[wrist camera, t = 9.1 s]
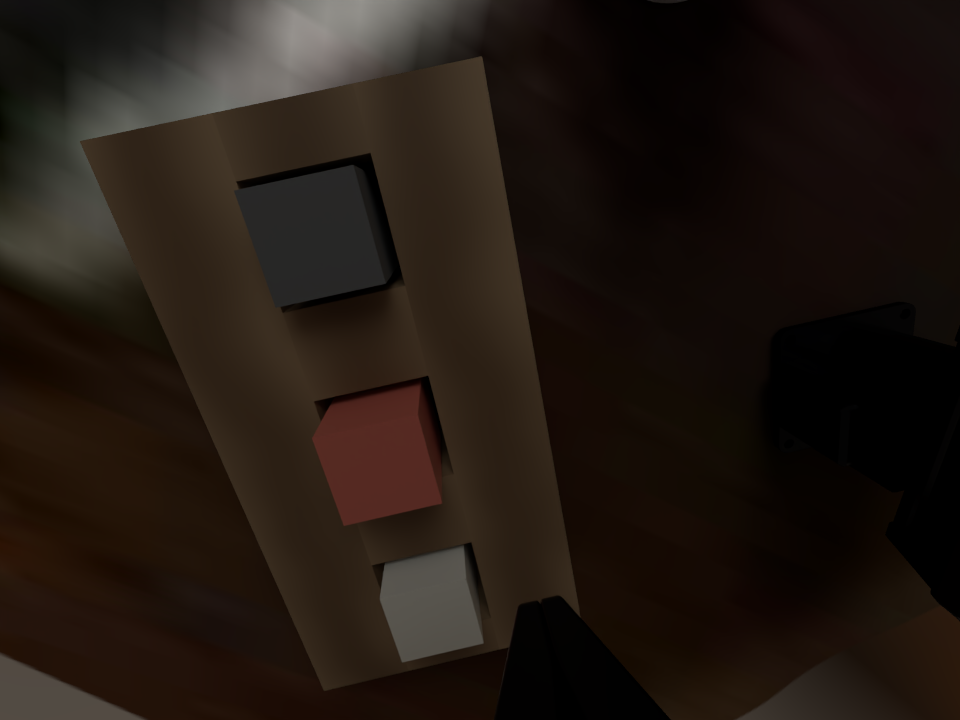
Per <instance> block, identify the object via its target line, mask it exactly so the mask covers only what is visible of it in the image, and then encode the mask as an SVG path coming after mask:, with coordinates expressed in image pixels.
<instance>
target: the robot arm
mask: <svg viewBox="0 0 960 720" xmlns="http://www.w3.org/2000/svg"><path fill="white" fill-rule="evenodd" d="M901 312H902V314H901V315H900V313H901ZM915 313H916V311H915V307H914V305H912V304H910V303H905V302H896V303H891V304H887V305H883V306H878V307H874V308H869V309H865V310H860V311H856V312H851V313H847V314H843V315H838V316H834V317H829V318H825V319H820V320H816V321H812V322H807V323H803V324H798V325H794V326H789V327H785V328H782V329H780V330H779V331H778V332H777V333H776V335H775V338H774V378H773V422H774V445H775V447H776V448H778V449H779V450H781V451H782V452H785V453H788V452H793V451H797V450H802V449H806V448H810V447H812V448H814V449H815V450H817V451H818V452H820V453H822V454H823V455H825V456H826V457H828V458H829V459H831V460H833V461H834V462H836V463H837V464H839V465H840V466H843V467H844V466H848V465H849V466H851V467H852V468H854V469H856V470H857V471H859V472H860V473H862V474H864V475H865V476H867V477H868V478H870V479H872V480H873V481H875V482H876V483H878V484H880V485H881V486H883V487H885V488H886V489H888V490H889V491H891V492H898V491H903V490H904V493H903V496H902V499H901V501H900V504H899V507H898V510H897V513H896V515H895V518H894V521H893V522H890V523H889V525H888V528H887V531H886V534H885V535H886V536H887V538H888V539H889V540H890V541H891V542H892V543H893V545H894V546H895V547H896V548H897V549H898V551H899V552H900V553H901V554H902V555H903V556H904V558H905V559H906V560H907V561H908V562H909V563H910V565H911V566H912V567H913V568H914V569H915V570H916V572H917V573H918V574H919V575H920V576H921V577H922V579H923V580H924V581H925V582H926V583H927V585H928V586H929V587H930V588H931V595H932V596H933V597H934V598H935V600H936V601H937V602H938V603H939V604H940V605H941V606H942V607H944V608H945V609H946V610H947V611H949V612H950V613H951V614H952V615H953V616H955V617H956V618H957V619H958V620H959V621H960V326H959V329H958V332H957V335H956V338H955V341H957V342H958V343H957V346H956V347H954V346H950V345H946V344H943V343H939V342H935V341H931V340H927V339H924V338H920V337H916V336H913V332H914V322H915ZM788 336H790V337H789V340H788V341H787V342H785V340H786V338H787V337H788ZM786 440H788V441H787V442H786ZM785 442H786V443H785ZM784 443H785V444H784ZM494 720H671V719H670V718H669V717H668V716H667V715H666V714H665V713H664V712H663V710H662V709H661V708H660V707H659V706H658V705H657V704H656V703H655V701H654V700H653V699H652V698H651V697H650V696H649V695H648V693H647V692H646V691H645V690H644V689H643V688H642V687H641V686H640V684H639V683H638V682H637V681H636V680H635V679H634V678H633V676H632V675H631V674H630V673H629V672H628V671H627V670H626V669H625V667H624V666H623V665H622V664H621V663H620V662H619V661H618V660H617V658H616V657H615V656H614V655H613V654H612V653H611V652H610V650H609V649H608V648H607V647H606V646H605V645H604V644H603V643H602V641H601V640H600V639H599V638H598V637H597V636H596V635H595V634H594V632H593V631H592V630H591V629H590V628H589V627H588V626H587V624H586V623H585V622H584V621H583V620H582V619H581V618H580V617H579V615H578V614H577V613H576V612H575V611H574V610H573V609H572V607H571V606H570V605H569V604H568V603H567V602H566V601H565V600H564V598H562V597H561V596H559V595H556V596H552V597H547V598H543V599H542V600H541V601H540V603H539V602H538V601H537V600H535V601H530V602H526V603H522V604H520V605H519V606H518V608H517V611H516V616H515V621H514V626H513V630H512V635H511V640H510V645H509V649H508V654H507V659H506V664H505V669H504V673H503V678H502V683H501V688H500V692H499V697H498V702H497V707H496V712H495V716H494Z"/></svg>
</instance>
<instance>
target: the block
mask: <svg viewBox="0 0 960 720" xmlns="http://www.w3.org/2000/svg"><path fill="white" fill-rule="evenodd" d="M80 143H81V145H82V147H83V150H84V152H85V154H86V156H87V159H88V161H89V163H90V165H91V168H92V170H93V172H94V174H95V177H96V179H97V181H98V183H99V186H100V188H101V190H102V192H103V195H104V197H105V199H106V201H107V204H108V206H109V208H110V210H111V213H112V215H113V217H114V219H115V222H116V224H117V226H118V228H119V231H120V233H121V235H122V237H123V240H124V242H125V244H126V246H127V249H128V251H129V253H130V255H131V258H132V260H133V262H134V264H135V267H136V269H137V271H138V273H139V276H140V278H141V280H142V282H143V285H144V287H145V289H146V291H147V294H148V296H149V298H150V300H151V302H152V305H153V307H154V309H155V311H156V314H157V316H158V318H159V320H160V323H161V325H162V327H163V329H164V332H165V334H166V336H167V338H168V341H169V343H170V345H171V347H172V350H173V352H174V354H175V356H176V359H177V361H178V363H179V365H180V368H181V370H182V372H183V374H184V377H185V379H186V381H187V383H188V386H189V388H190V390H191V392H192V395H193V397H194V399H195V401H196V404H197V406H198V408H199V410H200V413H201V415H202V417H203V419H204V422H205V424H206V426H207V428H208V431H209V433H210V435H211V437H212V440H213V442H214V444H215V446H216V449H217V451H218V453H219V455H220V458H221V460H222V462H223V464H224V467H225V469H226V471H227V473H228V476H229V478H230V480H231V482H232V485H233V487H234V489H235V491H236V494H237V496H238V498H239V500H240V503H241V505H242V507H243V509H244V512H245V514H246V516H247V518H248V521H249V523H250V525H251V527H252V530H253V532H254V534H255V536H256V539H257V541H258V543H259V545H260V548H261V550H262V552H263V554H264V557H265V559H266V561H267V563H268V566H269V568H270V570H271V572H272V575H273V577H274V579H275V581H276V584H277V586H278V588H279V590H280V593H281V595H282V597H283V599H284V602H285V604H286V606H287V608H288V611H289V613H290V615H291V617H292V620H293V622H294V624H295V626H296V629H297V631H298V633H299V635H300V638H301V640H302V642H303V644H304V647H305V649H306V651H307V653H308V656H309V658H310V660H311V662H312V665H313V667H314V669H315V671H316V673H317V676H318V678H319V680H320V682H321V685H322V687H323V689H324V691H326V690H330V689H334V688H338V687H343V686H347V685H351V684H355V683H359V682H364V681H368V680H372V679H376V678H381V677H385V676H389V675H393V674H398V673H402V672H406V671H410V670H414V669H419V668H423V667H427V666H431V665H436V664H440V663H444V662H448V661H452V660H457V659H461V658H465V657H469V656H474V655H478V654H482V653H486V652H491V651H495V650H499V649H503V648H507V647H509V645H510V640H511V635H512V630H513V626H514V621H515V616H516V611H517V608H518V606H519V605H520V604H522V603H526V602H530V601H535V600H537V601H538V602H539V603H540V601H541V600H542V599H543V598H547V597H552V596H556V595H559V596H561V597H562V598H564V600H565V601H566V602H567V603H568V604H569V605H570V606H571V607H572V609H573V610H574V611H575V612H576V613H577V614H578V615H579V617H580V612H579V606H578V600H577V595H576V589H575V583H574V577H573V572H572V566H571V560H570V555H569V549H568V543H567V538H566V532H565V526H564V521H563V515H562V509H561V503H560V498H559V492H558V486H557V481H556V475H555V469H554V464H553V458H552V452H551V447H550V441H549V435H548V429H547V424H546V418H545V412H544V407H543V401H542V395H541V390H540V384H539V378H538V373H537V367H536V361H535V355H534V350H533V344H532V338H531V333H530V327H529V321H528V316H527V310H526V304H525V299H524V293H523V287H522V281H521V276H520V270H519V264H518V259H517V253H516V247H515V242H514V236H513V230H512V225H511V219H510V213H509V207H508V202H507V196H506V190H505V185H504V179H503V173H502V168H501V162H500V156H499V151H498V145H497V139H496V134H495V128H494V122H493V116H492V111H491V105H490V99H489V94H488V88H487V82H486V77H485V71H484V65H483V60H482V56H481V57H477V58H472V59H467V60H462V61H458V62H453V63H448V64H444V65H439V66H434V67H429V68H425V69H420V70H415V71H410V72H406V73H401V74H396V75H391V76H387V77H382V78H377V79H373V80H368V81H363V82H358V83H354V84H349V85H344V86H339V87H335V88H330V89H325V90H320V91H316V92H311V93H306V94H301V95H297V96H292V97H287V98H283V99H278V100H273V101H268V102H264V103H259V104H254V105H249V106H245V107H240V108H235V109H230V110H226V111H221V112H216V113H211V114H207V115H202V116H197V117H193V118H188V119H183V120H178V121H174V122H169V123H164V124H159V125H155V126H150V127H145V128H140V129H136V130H131V131H126V132H121V133H117V134H112V135H107V136H103V137H98V138H93V139H88V140H84V141H80ZM350 165H355V166H356V167H358V168H360V169H366V168H371V167H374V168H375V172H376V175H377V179H378V183H379V187H380V191H381V195H382V199H383V202H384V206H385V210H386V214H387V218H388V222H389V226H390V229H391V233H392V237H393V241H394V245H395V249H396V253H397V256H398V260H399V264H400V268H401V272H402V273H400V274H396V275H391V277H390V278H389V280H388V281H387V283H386V284H382V285H377V286H373V287H368V288H364V289H359V290H355V291H350V292H346V293H341V294H336V295H332V296H327V297H323V298H318V299H314V300H309V301H305V302H300V303H295V304H291V305H286V306H282V307H277V308H275V305H274V302H273V299H272V296H271V294H270V291H269V288H268V285H267V282H266V280H265V277H264V274H263V271H262V268H261V266H260V263H259V260H258V257H257V254H256V251H255V249H254V246H253V243H252V240H251V237H250V235H249V232H248V229H247V226H246V223H245V221H244V218H243V215H242V212H241V209H240V207H239V204H238V201H237V198H236V195H235V193H234V190H239V189H243V188H248V187H253V186H257V185H262V184H267V183H271V182H276V181H281V180H285V179H290V178H295V177H299V176H304V175H309V174H313V173H318V172H323V171H327V170H332V169H336V168H341V167H346V166H350ZM425 376H429V380H430V384H431V388H432V392H433V395H434V399H435V403H436V407H437V411H438V415H439V419H440V422H441V426H442V430H441V431H440V433H441V464H442V504H437V505H433V506H429V507H424V508H420V509H416V510H411V511H407V512H402V513H398V514H394V515H389V516H385V517H381V518H376V519H372V520H368V521H363V522H359V523H355V524H350V525H346V526H344V525H343V522H342V519H341V517H340V514H339V511H338V508H337V506H336V503H335V500H334V497H333V495H332V492H331V489H330V486H329V484H328V481H327V478H326V475H325V473H324V470H323V467H322V465H321V462H320V459H319V456H318V454H317V451H316V448H315V445H314V443H313V440H312V437H313V436H314V434H315V432H316V430H317V428H318V426H319V425H320V423H321V421H322V419H323V417H324V415H325V414H326V412H327V410H328V408H329V406H330V404H331V403H332V401H333V399H334V397H335V396H340V395H344V394H349V393H353V392H358V391H362V390H367V389H371V388H376V387H380V386H384V385H389V384H393V383H398V382H402V381H407V380H411V379H416V378H420V377H425ZM470 542H472V546H473V550H474V554H475V556H474V557H475V566H476V576H477V585H478V594H479V604H480V613H481V622H482V632H483V641H484V643H483V644H479V645H475V646H470V647H466V648H462V649H458V650H453V651H449V652H445V653H441V654H436V655H432V656H428V657H424V658H419V659H415V660H411V661H407V662H403V663H402V661H401V658H400V655H399V652H398V649H397V647H396V644H395V641H394V638H393V635H392V633H391V630H390V627H389V624H388V621H387V619H386V616H385V613H384V610H383V607H382V605H381V602H380V593H381V586H382V579H383V572H384V566H385V562H388V561H392V560H397V559H401V558H405V557H410V556H414V555H418V554H423V553H427V552H431V551H436V550H440V549H444V548H449V547H453V546H457V545H461V544H466V543H470ZM580 618H581V617H580Z"/></svg>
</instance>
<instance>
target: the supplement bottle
mask: <svg viewBox="0 0 960 720" xmlns="http://www.w3.org/2000/svg"><path fill="white" fill-rule="evenodd" d="M647 1H651V2H657V3H677V2H683V1H687V0H647Z"/></svg>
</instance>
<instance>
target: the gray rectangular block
mask: <svg viewBox="0 0 960 720" xmlns="http://www.w3.org/2000/svg"><path fill="white" fill-rule="evenodd" d="M234 193H235V195H236V198H237V201H238V204H239V207H240V209H241V212H242V215H243V218H244V221H245V223H246V226H247V229H248V232H249V235H250V237H251V240H252V243H253V246H254V249H255V251H256V254H257V257H258V260H259V263H260V266H261V268H262V271H263V274H264V277H265V280H266V282H267V285H268V288H269V291H270V294H271V296H272V299H273V302H274V305H275V308H277V307H282V306H286V305H291V304H295V303H300V302H305V301H309V300H314V299H318V298H323V297H327V296H332V295H336V294H341V293H346V292H350V291H355V290H359V289H364V288H368V287H373V286H377V285H382V284H386V283H387V281H388V280H389V278H390V277H391V275H392V274H393V272H394V271H395V270H396V268H397V267H398V265H399V264H398V260H397V256H396V252H395V249H394V245H393V241H392V237H391V233H390V229H389V225H388V222H387V218H386V214H385V210H384V206H383V202H382V198H381V195H380V191H379V187H378V183H377V179H376V177H375V176H373V175H372V174H370V173H368V172H366V171H364V170H362V169H360V168H358V167H356V166H355V165H350V166H346V167H341V168H336V169H332V170H327V171H323V172H318V173H313V174H309V175H304V176H299V177H295V178H290V179H285V180H281V181H276V182H271V183H267V184H262V185H257V186H253V187H248V188H243V189H239V190H234Z"/></svg>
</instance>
